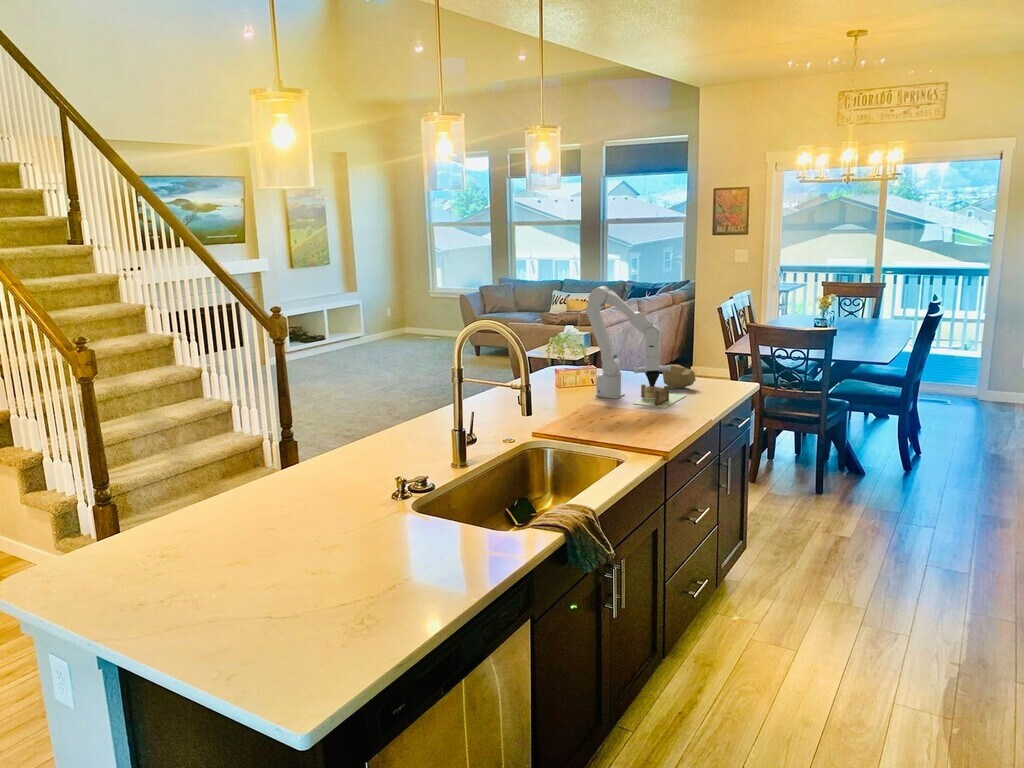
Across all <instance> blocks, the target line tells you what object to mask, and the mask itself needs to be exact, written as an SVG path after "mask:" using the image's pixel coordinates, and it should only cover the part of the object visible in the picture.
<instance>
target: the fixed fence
mask: <svg viewBox="0 0 1024 768" xmlns="http://www.w3.org/2000/svg"><path fill="white" fill-rule="evenodd" d="M669 393H670V387H669V386H668V385H664V386H663V389H661V390H659V391H655V405H656V406H659V404H660V403H661V402H663V401H665V400H669Z"/></svg>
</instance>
